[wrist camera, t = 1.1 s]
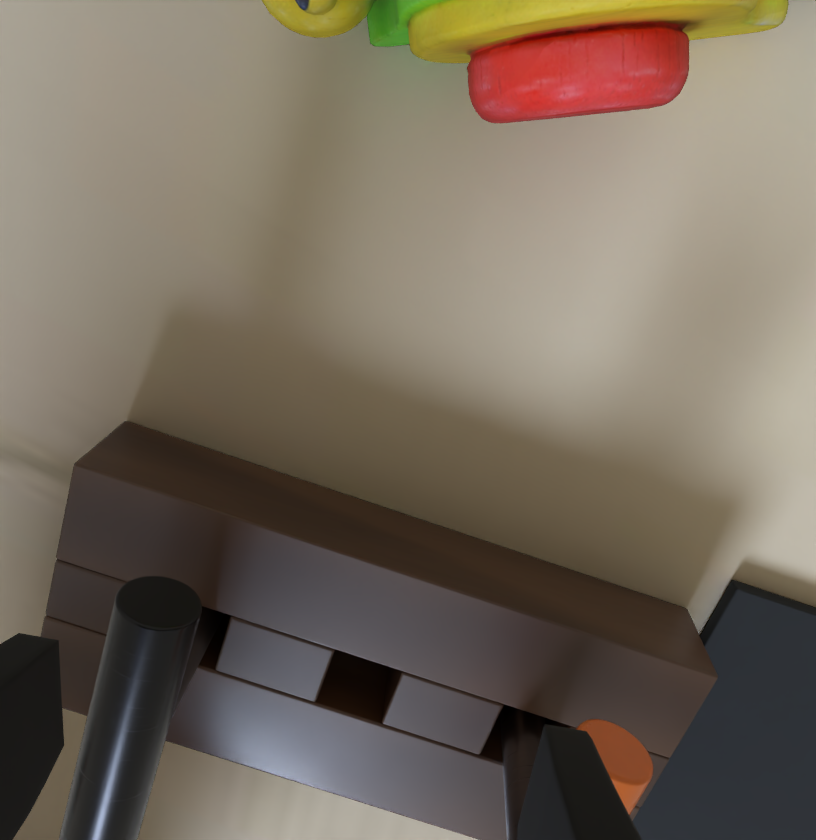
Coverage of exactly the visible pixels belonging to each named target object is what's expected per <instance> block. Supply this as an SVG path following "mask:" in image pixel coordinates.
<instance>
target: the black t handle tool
mask: <svg viewBox="0 0 816 840" xmlns="http://www.w3.org/2000/svg"><path fill="white" fill-rule="evenodd" d="M224 614H225V613H222V612H219V611H216V610H212V609H209V608H206V607H203V606H202V604H201V600H200V598H199V596H198V594H197V593H196V592H195V591H194V590H193V589H192V588H191V587H189V586H188V585H186V584H184V583H183V582H180V581H178V580H175V579H172V578H168V577H163V576H144V577H139V578H135V579H133V580H130V581H128V582H127V583H125V584H124V585H123V586H122V587H121V588H120V589H119V590H118V592H117V593H116V596H115V600H114V604H113V609H112V613H111V617H110V621H109V626H108V630H107V634H106V639H105V643H104V647H103V652H102V656H101V660H100V664H99V669H98V673H97V677H96V682H95V686H94V690H93V695H92V699H91V703H90V707H89V712H88V716H87V720H86V725H85V729H84V733H83V738H82V742H81V746H80V750H79V755H78V759H77V763H76V768H75V772H74V776H73V781H72V785H71V789H70V793H69V798H68V802H67V806H66V811H65V815H64V819H63V824H62V828H61V832H60V836H59V840H137V839H138V835H139V832H140V828H141V825H142V821H143V817H144V814H145V810H146V807H147V803H148V800H149V796H150V793H151V789H152V786H153V782H154V779H155V775H156V772H157V768H158V765H159V761H160V757H161V754H162V750H163V747H164V743H165V740H166V736H167V733H168V729H169V726H170V722H171V719H172V717H173V715H174V713H175V711H176V709H177V707H178V705H179V703H180V701H181V699H182V697H183V695H184V693H185V691H186V689H187V687H188V685H189V683H190V681H191V679H192V677H193V675H194V673H195V671H196V669H197V667H198V665H199V663H200V661H201V659H202V657H203V655H204V653H205V651H206V649H207V647H208V645H209V643H210V641H211V639H212V638H213V636H214V634H215V632H216V630H217V628H218V626H219V624H220V622H221V620H222V618H223V616H224Z"/></svg>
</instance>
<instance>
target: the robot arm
mask: <svg viewBox="0 0 816 840" xmlns="http://www.w3.org/2000/svg"><path fill="white" fill-rule="evenodd" d="M63 746H64V736H63V716H62V696H61V676H60V656H59V640H55V639H49V638H44V637H38V636H32V635H26V634H20V633H18V634H17V635H15V636H13V637H12V638H10V639H8V640H7V641H5V642H3V643H2V644H0V840H12V839H13V838H14V836H15V835H16V833H17V832H18V830H19V829H20V827H21V826H22V824H23V823H24V821H25V819H26V818H27V816H28V815H29V813H30V811H31V809H32V807H33V806H34V804H35V802H36V800H37V798H38V796H39V794H40V792H41V790H42V788H43V787H44V785H45V783H46V781H47V779H48V777H49V775H50V773H51V771H52V769H53V766H54V764H55V762H56V760H57V758H58V756H59V754H60V752H61V750H62V748H63ZM517 840H642V838H641V837H640V835H639V833H638V831H637V829H636V827H635V825H634V823H633V822H632V820H631V818H630V816H629V814H628V812H627V810H626V808H625V806H624V804H623V802H622V800H621V798H620V796H619V794H618V792H617V790H616V788H615V786H614V784H613V782H612V780H611V778H610V776H609V774H608V772H607V770H606V768H605V766H604V763H603V761H602V759H601V757H600V755H599V753H598V751H597V748H596V746H595V744H594V742H593V740H592V738H591V737H590V735H589V734H588V733H587V731H582V730H576V729H570V728H565V727H559V726H553V725H547V724H544V727H543V731H542V735H541V739H540V743H539V746H538V750H537V754H536V758H535V762H534V765H533V769H532V773H531V777H530V781H529V784H528V788H527V792H526V796H525V800H524V803H523V807H522V811H521V815H520V819H519V822H518V834H517Z"/></svg>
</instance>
